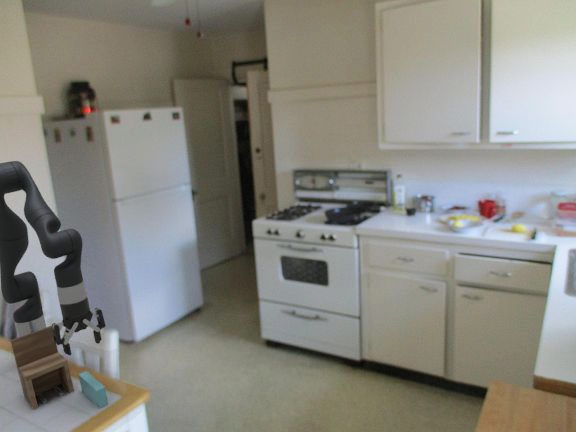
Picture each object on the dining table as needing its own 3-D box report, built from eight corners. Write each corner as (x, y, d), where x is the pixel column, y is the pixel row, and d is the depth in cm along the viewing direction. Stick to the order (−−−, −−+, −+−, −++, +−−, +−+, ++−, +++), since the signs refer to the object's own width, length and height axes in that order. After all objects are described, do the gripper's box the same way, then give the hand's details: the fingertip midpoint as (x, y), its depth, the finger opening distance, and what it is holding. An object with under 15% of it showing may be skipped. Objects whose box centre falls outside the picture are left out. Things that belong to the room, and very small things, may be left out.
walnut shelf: (24, 398, 153) (10, 340, 148) (63, 381, 161) (51, 325, 156) (33, 409, 147) (19, 349, 142) (74, 391, 155) (61, 333, 150)
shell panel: (82, 391, 154) (78, 374, 153) (89, 387, 156) (86, 370, 155) (100, 408, 144) (96, 390, 143) (108, 404, 146) (105, 386, 145)
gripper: (92, 287, 148) (101, 335, 152) (43, 303, 139) (54, 354, 143) (102, 292, 143) (112, 342, 147) (52, 309, 134) (63, 362, 138)
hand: (83, 348), depth 145 cm, fingers open, 8 cm apart
